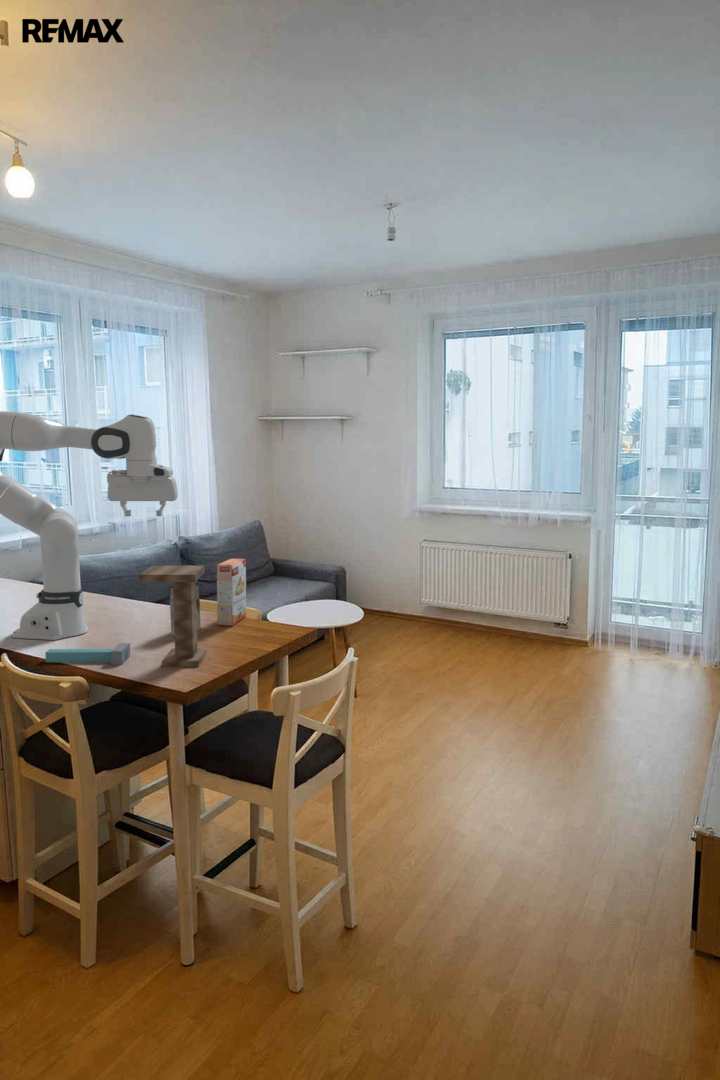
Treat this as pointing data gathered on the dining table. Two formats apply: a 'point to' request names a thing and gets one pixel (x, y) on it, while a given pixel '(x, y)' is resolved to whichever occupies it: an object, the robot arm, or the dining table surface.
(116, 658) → the hammer
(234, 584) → the cracker box
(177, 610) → the stand
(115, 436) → the robot arm
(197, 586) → the coffee box
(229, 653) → the dining table surface
